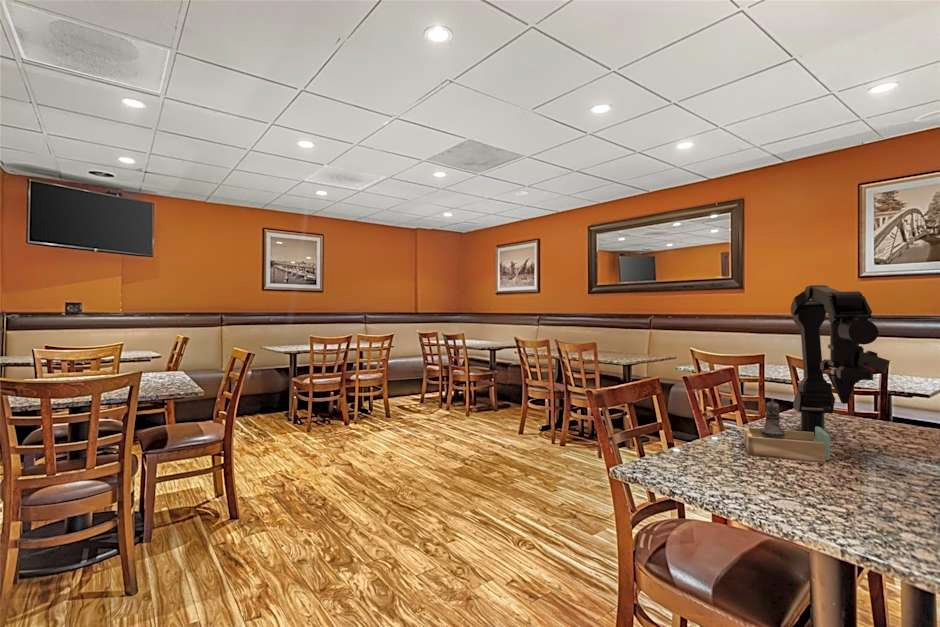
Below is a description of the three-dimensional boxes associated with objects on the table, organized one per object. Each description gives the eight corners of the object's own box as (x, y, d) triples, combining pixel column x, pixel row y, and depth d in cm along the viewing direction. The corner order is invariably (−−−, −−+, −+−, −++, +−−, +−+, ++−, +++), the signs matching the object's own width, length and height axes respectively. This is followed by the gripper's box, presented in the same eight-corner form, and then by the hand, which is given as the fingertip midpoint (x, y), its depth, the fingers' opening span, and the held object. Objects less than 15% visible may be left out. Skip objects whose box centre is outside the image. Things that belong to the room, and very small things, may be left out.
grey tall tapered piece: (754, 443, 125) (754, 397, 125) (768, 440, 127) (768, 395, 127) (776, 449, 120) (776, 401, 119) (791, 445, 122) (791, 399, 122)
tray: (749, 443, 129) (749, 421, 129) (819, 449, 123) (819, 426, 123) (754, 453, 121) (754, 429, 121) (829, 460, 115) (829, 435, 115)
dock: (743, 443, 131) (743, 426, 131) (813, 449, 125) (813, 432, 125) (748, 454, 121) (748, 437, 121) (825, 462, 114) (825, 443, 114)
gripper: (901, 345, 108) (901, 413, 108) (870, 339, 125) (871, 398, 125) (841, 344, 112) (841, 410, 112) (819, 338, 129) (819, 396, 129)
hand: (844, 403), depth 120 cm, fingers closed
